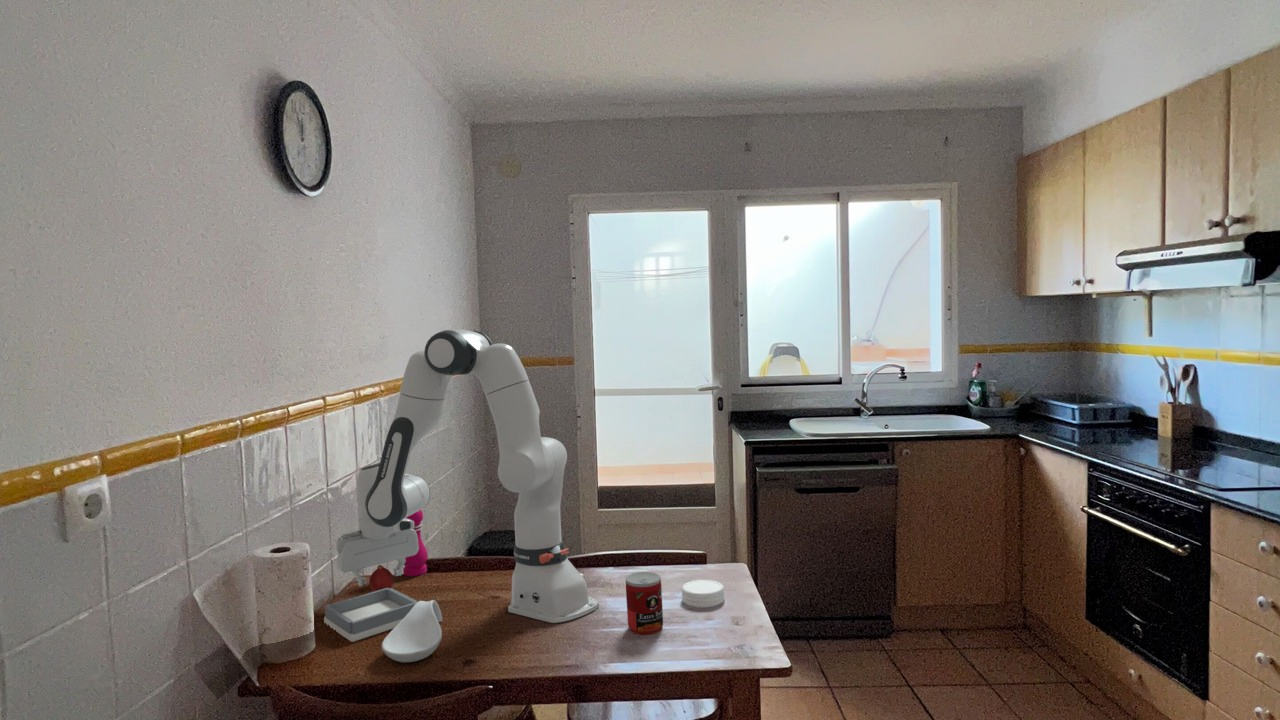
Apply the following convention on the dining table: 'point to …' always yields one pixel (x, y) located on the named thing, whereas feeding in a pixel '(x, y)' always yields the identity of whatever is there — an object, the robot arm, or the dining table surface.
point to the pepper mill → (417, 562)
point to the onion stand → (368, 613)
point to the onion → (381, 579)
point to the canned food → (644, 603)
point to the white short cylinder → (703, 593)
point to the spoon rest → (415, 634)
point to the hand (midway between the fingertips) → (380, 580)
